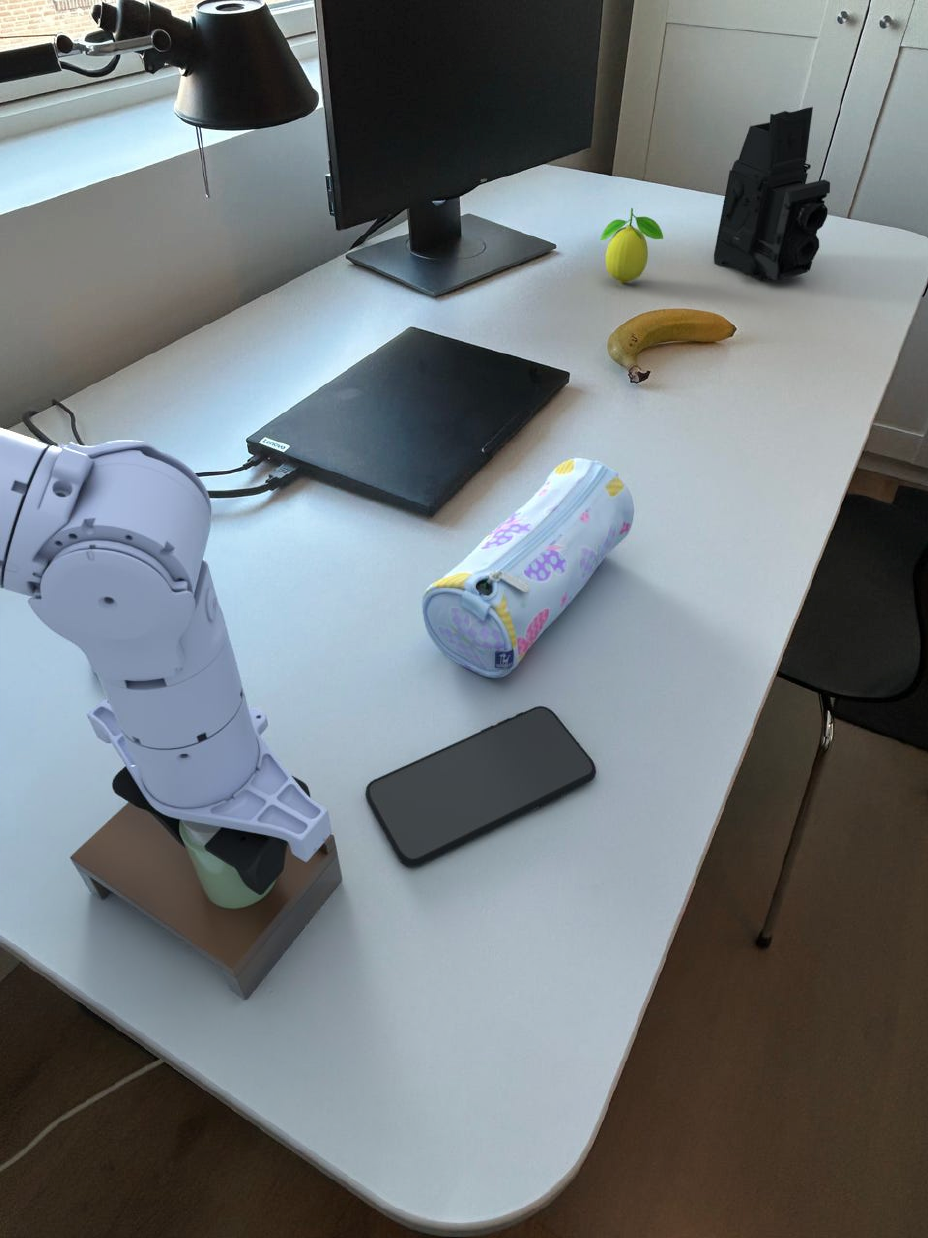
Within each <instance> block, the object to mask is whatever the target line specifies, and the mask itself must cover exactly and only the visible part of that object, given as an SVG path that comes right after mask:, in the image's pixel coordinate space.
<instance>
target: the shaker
mask: <svg viewBox="0 0 928 1238" xmlns="http://www.w3.org/2000/svg"><path fill="white" fill-rule="evenodd" d="M220 828H221V827H220V826H214V825H209V824H203V823H198V822H192V821H187V820H181V819H180V823H179V831H180V835H181V838H182V840H183V842H184V845H185V847H186V850H187V852H188V854H189V857H190V859H191V862H192V864H193V866H194V869H195V871H196V874H197V876H198V878H199V881H200V883H201V886H202V888H203V891H204V893H205V895H206V896H207V898H208V899H209V900H210V901H212V902H213V903H214V904H216V905H218V906H221V907H224V908H230V909H237V908H243V907H247V906H250V905H252V904H254V903H256V902H258V901H259V900H261V899H262V898H263V897H264V896H266V894H267V893H268V892H269V891H270V890H271V889H272V887H273V885H274V884H275V881H276V880H275V881H274V882H273V883H272V884H271V885H270V887H269V888H268V889H267V890H266V891H265V892H264V894H263V895H259V894H257V893H255V892H254V891H252V890H251V889H249V888H248V887H247V886H246V885H245V884H244V882H243V881H242V879H241V877H240V876H239V874H238V872H237V871H236V869H235V868H234V867H232V866H230V865H228V864H227V863H225V862H224V861H222V860H220V859H219V858H217V857H216V856H214V855H212V854H211V853H209V852H208V851H206V850H205V847H204V846H205V844H206V843H207V842H208V841H209V840H210V839H211V838H212V837H213V836H214V835H215V834H216V833H217V832H218V831H219V829H220ZM276 879H277V878H276Z"/></svg>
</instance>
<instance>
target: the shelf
mask: <svg viewBox="0 0 928 1238" xmlns="http://www.w3.org/2000/svg"><path fill="white" fill-rule="evenodd" d="M338 854H339V853H338V849H337V843H336V839H335V835H334V834H332V833H331V834H330V835H329V837H328V838H327V839H326V840H325V841H324V843H323V844H322V845H321V847H320V848H319V849H318V850H317V851H316V852H315V853H314V854H313V856H312V857H311V858H310V859H309V860H308V861H307V862H305V861H303V860H301V859H300V858H298V857H296V856H295V855H293V854H292V852H291V849H290V845H289V843H288V845H287V850H286V855H285V863H284V870H283V871H282V873H281V874H280V875H279V876H278V877H277V879H276V881H275V884H274V885H273V887H272V889H271V890H270V891H269V892H268V893H267V894H266V896H264V897H263V898H262V899H261V900H259V901H258V902H256V903H254V904H252V905H250V906H247V907H243V908H237V909H230V908H224V907H221V906H218V905H216V904H214V903H213V902H212V901H210V900H209V899H208V898H207V896H206V895H205V893H204V891H203V888H202V886H201V883H200V881H199V878H198V876H197V874H196V871H195V869H194V866H193V864H192V862H191V859H190V857H189V854H188V852H187V850H186V848H185V847H183V846H182V845H181V844H180V843H179V842H178V841H177V840H176V839H175V838H174V837H173V836H172V835H171V834H170V833H169V832H168V830H167V829H166V828H165V827H164V826H163V825H162V824H161V823H160V822H159V821H158V820H157V819H156V818H155V817H154V816H153V815H152V814H150V813H149V812H148V811H146V810H144V809H141V808H138V807H136V806H134V805H133V804H131V803H130V802H128V801H127V803H126V804H124V806H123V807H121V808H120V809H119V810H118V811H117V812H116V813H115V814H114V815H113V816H112V817H111V818H110V819H109V820H108V821H107V822H106V823H104V825H102V826H101V827H100V828H99V829H98V830H97V831H96V832H94V834H93V835H92V836H90V837H89V839H87V840H86V842H84V843H83V844H82V845H81V846H80V847H79V848H77V850H76V851H75V852H74V853H73V854H71V855H70V857H69V859H70V861H71V862H72V864H73V866H74V867H75V869H76V870H77V872H78V874H79V875H80V877H81V879H82V881H83V882H84V884H85V886H86V887H87V890H88V891H89V892H90V893H91V894H93V895H94V896H96V897H97V898H98V899H100V900H101V901H104V899H105V898H107V897H108V895H110V894H111V893H113V894H114V895H116V896H118V897H119V898H120V899H121V900H123V901H125V902H126V903H127V904H129V905H130V906H131V907H133V908H135V909H136V910H137V911H139V912H140V913H142V914H144V915H145V916H146V917H148V918H149V919H151V920H152V921H153V922H155V923H156V924H158V925H159V926H161V927H162V928H164V929H165V930H167V931H168V932H169V933H171V934H172V935H173V936H175V937H176V938H178V939H179V940H181V941H182V942H183V943H185V944H187V945H188V946H190V947H191V948H193V949H194V950H195V951H197V952H198V953H199V954H200V955H202V956H204V957H206V958H207V959H209V961H211V962H213V963H214V964H216V965H217V966H218V967H220V969H221V971H222V974H223V976H224V978H225V980H226V983H227V985H228V987H229V989H230V991H231V992H232V993H233V994H234V995H235V994H236V995H237V996H238V997H240V998H241V999H242V1000H244V1001H247V1000H248V999H249V997H250V996H251V995H252V994H253V992H254V991H255V990H256V989H257V987H258V986H259V985H260V984H261V982H262V981H263V980H264V979H265V977H266V976H267V975H268V974H269V972H270V971H271V970H272V969H273V968H274V966H275V965H276V964H277V963H278V961H279V960H281V959H280V958H281V957H282V956H283V955H284V953H285V952H286V951H287V950H288V949H289V947H290V946H291V945H292V944H293V942H295V939H297V937H298V936H299V935H300V933H301V932H302V931H303V930H304V929H305V927H306V926H307V925H308V924H309V923H310V921H311V920H312V919H313V917H314V916H315V915H316V914H317V913H318V912H319V910H320V908H321V907H322V906H323V905H324V903H325V902H326V901H327V900H328V898H329V897H330V896H331V895H332V893H333V892H334V891H335V890H336V888H337V887H338V886H339V885H340V883H341V882H342V881H343V874H342V869H341V863H340V859H339V855H338Z"/></svg>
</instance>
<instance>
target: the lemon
mask: <svg viewBox="0 0 928 1238" xmlns="http://www.w3.org/2000/svg"><path fill="white" fill-rule="evenodd" d="M633 218H635V221H636V225H637V226H636V227H637V228H636V227H634V225H632V223H633ZM627 223H629V224H628V225H627V226H625V225H626V224H627ZM611 236H612V237H611ZM610 237H611V239H610V241H609V243H608V245H607V248H606V252H605V253H606V254H605V266H606V270H607V272H608V274H609V275H610V277H612V278H614V279H615V280H617V281H619V283H620V284H623V285H624V284H627V282H630V281H633V280H635V279H637V278H639V277H640V276H641V275H642V274H643V272H644V270H645V269H646V266H647V263H648V258H649V249H648V243H647V239H646V238H645V237H647V238H650V239H653V240H664V235H663V232H662V229H661V227H660V225H659V224H658V223H657V221H655V220H654V219H652V218H650V217H648V216H636V215H635V214H634V208H633V207H631V208H630V218H629V219H628V220H624V219H615V220H612V221H611V222H610V223H608V225H607V226H606V227H605V229H603V232H602V235H601V237H600V238H599V239H600V240H601V241H602V240H603V241H604V240H607V239H608V238H610Z"/></svg>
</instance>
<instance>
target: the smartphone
mask: <svg viewBox="0 0 928 1238" xmlns="http://www.w3.org/2000/svg"><path fill="white" fill-rule="evenodd" d="M596 774H597V767H596V765H595V762H594V760H593V758H591V757H590V755H589V754H588V753H587V751H586V750H585V749H584V748H583V747H582V745H581V744H580V743H579V742H578V740H577V739H576V738H575V737H574V735H573V733H571V732H570V730H569V729H568V728H567V727H566V726H565V724H564V723H563V722H562V720H561V719H560V718H559V717H558V716H557V714H556V713H555V712H554V711H553V710H551V709H550V708H548V707H547V706H544V705H537V706H534V707H532V708H530V709H528V710H525V711H521V712H519V713H517V714H515V715H514V716H512V717H508V718H505V719H504V720H501V721H498V722H497V723H496V724H492V725H490V726H487V727H486V728H484V729H481V730H480V731H478V732H477V733H474V734H472V735H470V736H467V737H466V738H462V739H461V740H459V741H456V742H454V743H452V744H450V745H447V746H445V747H443V748H441V749H439V750H437V751H435V752H432V753H430V754H428V755H426V756H423V757H421V758H419V759H417V760H415V761H412V762H410V763H408V764H406V765H403V766H401V767H399V768H397V769H394V770H393V771H390V772H388V773H385V774H383V775H381V776H379V777H377V778H375V779H373V780H371V781H370V782H369V783H368V784H367V786H366V787H365V798H366V801H367V803H368V805H369V807H370V809H371V810H372V812H373V814H374V816H375V818H376V819H377V821H378V823H379V825H380V827H381V829H382V831H383V833H384V835H385V836H386V838H387V839H388V841H389V844H390V845H391V847H392V849H393V851H394V852H395V854H396V856H397V858H398V859H399V860H400V861H401V862H402V863H403V864H404V865H406V866H407V867H410V868H411V867H412V868H413V867H414V868H415V867H419V866H422V865H424V864H426V863H428V862H430V861H432V860H434V859H436V858H438V857H440V856H442V855H444V854H446V853H448V852H451V851H452V850H455V849H456V848H458V847H461V846H463V845H464V844H466V843H468V842H471V841H472V840H475V839H477V838H479V837H481V836H483V835H485V834H487V833H489V832H491V831H493V830H495V829H497V828H499V827H501V826H503V825H505V824H507V823H509V822H511V821H513V820H516V819H517V818H520V817H521V816H523V815H525V814H527V813H530V812H531V811H533V810H535V809H537V808H542V807H544V806H546V805H548V804H549V803H552V802H554V801H556V800H558V799H560V798H561V797H562V796H564V795H566V794H568V793H569V792H571V791H574V790H576V789H578V788H580V787H582V786H584V785H586V784H588V783H590V782H592V781H593V780H594V778H595V777H596Z"/></svg>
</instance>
